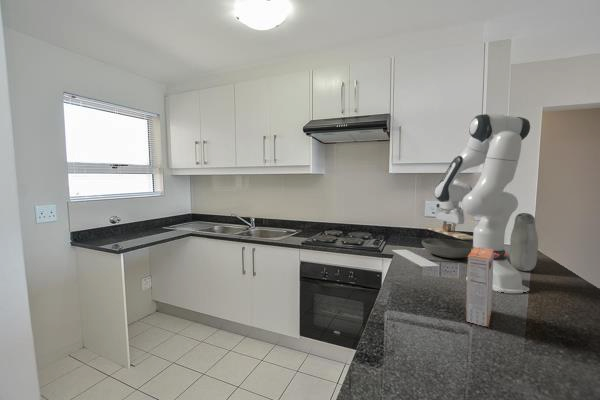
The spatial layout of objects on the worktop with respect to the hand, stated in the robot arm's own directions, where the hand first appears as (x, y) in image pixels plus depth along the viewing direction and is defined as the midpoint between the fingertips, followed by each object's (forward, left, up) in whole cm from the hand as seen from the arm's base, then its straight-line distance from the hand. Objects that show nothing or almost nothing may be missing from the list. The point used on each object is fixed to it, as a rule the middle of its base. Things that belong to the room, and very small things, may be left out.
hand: (448, 229), depth 155 cm
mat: (0, +21, -16) cm, 27 cm away
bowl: (0, 0, -16) cm, 16 cm away
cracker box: (-67, +37, -16) cm, 78 cm away
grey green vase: (-27, -20, -16) cm, 37 cm away
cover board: (0, 0, -2) cm, 2 cm away
